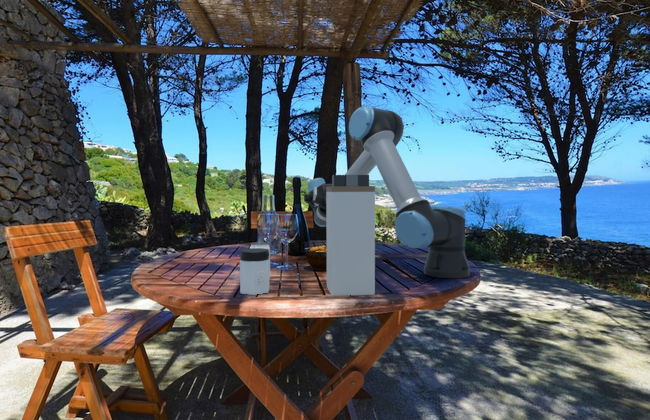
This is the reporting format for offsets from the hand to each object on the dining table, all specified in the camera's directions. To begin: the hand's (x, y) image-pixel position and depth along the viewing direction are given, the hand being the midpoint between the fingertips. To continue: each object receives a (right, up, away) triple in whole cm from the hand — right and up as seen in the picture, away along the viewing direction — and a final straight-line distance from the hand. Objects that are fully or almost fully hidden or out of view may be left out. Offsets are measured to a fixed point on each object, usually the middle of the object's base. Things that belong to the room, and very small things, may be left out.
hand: (335, 191), depth 147 cm
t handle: (+3, +1, -18) cm, 18 cm away
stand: (+4, -30, -22) cm, 37 cm away
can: (-25, -29, -8) cm, 39 cm away
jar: (-24, -30, -24) cm, 45 cm away
